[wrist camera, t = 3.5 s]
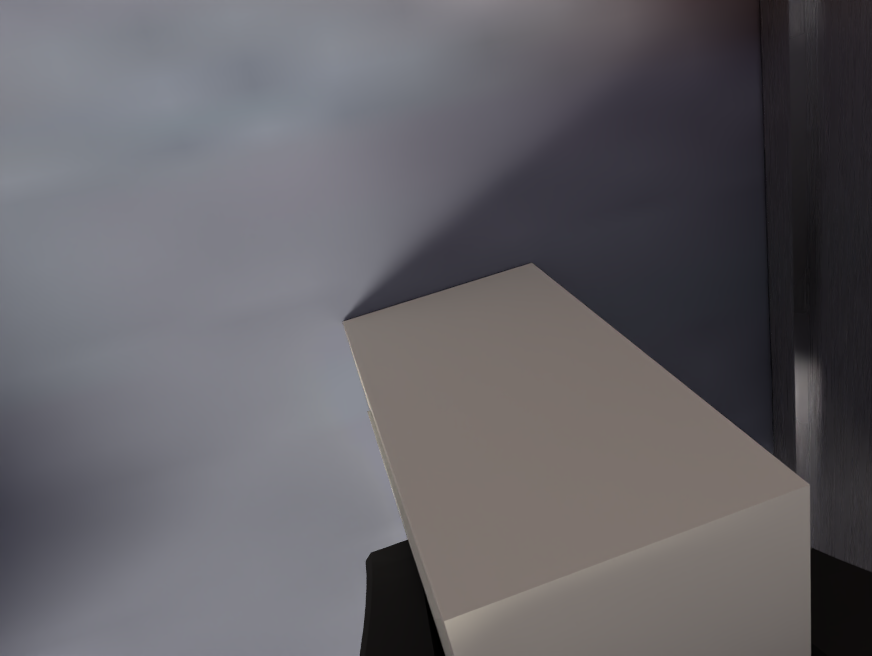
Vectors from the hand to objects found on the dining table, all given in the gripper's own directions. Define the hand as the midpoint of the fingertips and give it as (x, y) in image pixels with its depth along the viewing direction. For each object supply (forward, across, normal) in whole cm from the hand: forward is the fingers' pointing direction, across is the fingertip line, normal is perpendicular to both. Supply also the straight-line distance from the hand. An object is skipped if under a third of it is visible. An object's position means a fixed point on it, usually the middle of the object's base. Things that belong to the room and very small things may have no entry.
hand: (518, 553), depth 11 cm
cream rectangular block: (+1, 0, 0) cm, 1 cm away
